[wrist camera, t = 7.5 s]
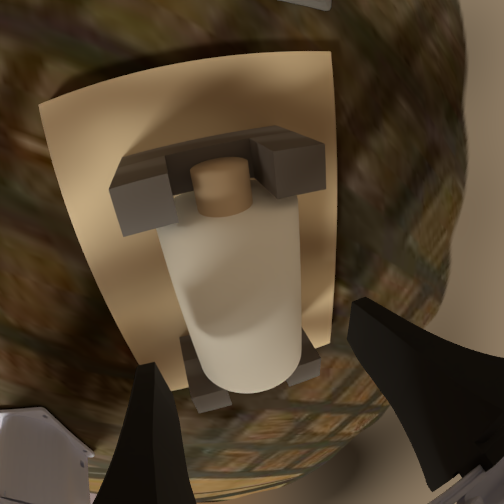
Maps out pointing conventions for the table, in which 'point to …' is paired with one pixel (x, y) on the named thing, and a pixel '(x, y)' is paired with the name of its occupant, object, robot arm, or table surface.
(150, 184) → the roll holder
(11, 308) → the table surface
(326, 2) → the key chain
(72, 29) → the table surface
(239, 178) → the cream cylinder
